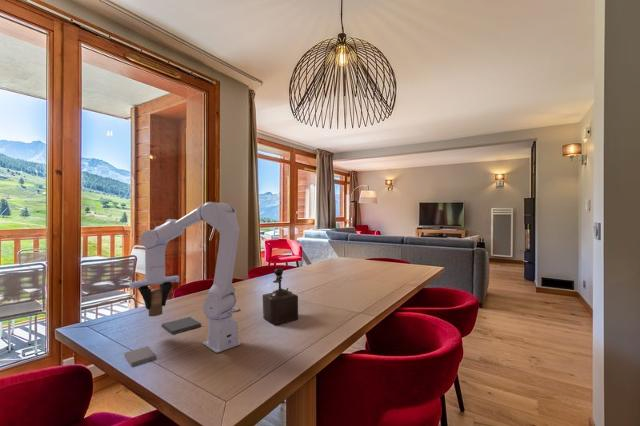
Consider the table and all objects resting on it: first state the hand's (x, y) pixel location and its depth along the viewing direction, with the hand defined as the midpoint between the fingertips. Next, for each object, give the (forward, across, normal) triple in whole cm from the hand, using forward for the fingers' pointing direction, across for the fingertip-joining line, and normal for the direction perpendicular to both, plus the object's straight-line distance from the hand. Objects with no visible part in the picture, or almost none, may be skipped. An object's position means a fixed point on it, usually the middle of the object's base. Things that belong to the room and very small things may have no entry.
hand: (155, 307), depth 98 cm
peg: (+2, 0, 0) cm, 2 cm away
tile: (+10, +8, +8) cm, 15 cm away
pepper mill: (+10, -39, +15) cm, 43 cm away
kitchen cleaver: (+10, -33, -15) cm, 37 cm away
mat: (+10, -9, -3) cm, 14 cm away
